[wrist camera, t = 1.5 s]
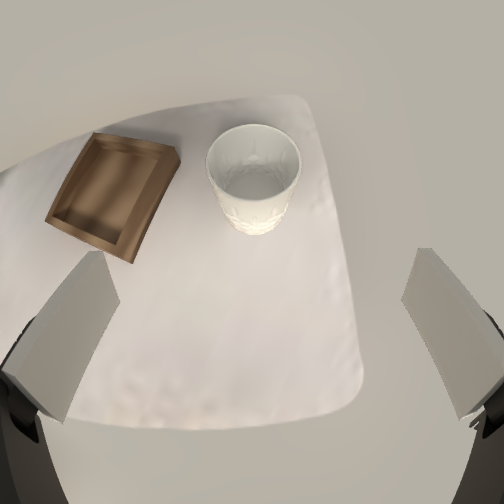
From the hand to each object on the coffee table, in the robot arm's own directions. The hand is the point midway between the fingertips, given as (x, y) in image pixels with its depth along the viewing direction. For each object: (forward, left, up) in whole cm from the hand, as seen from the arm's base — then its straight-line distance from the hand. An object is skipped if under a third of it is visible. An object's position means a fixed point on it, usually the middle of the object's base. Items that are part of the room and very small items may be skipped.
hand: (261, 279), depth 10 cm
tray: (-22, +6, -18) cm, 29 cm away
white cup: (-4, +10, -18) cm, 21 cm away
